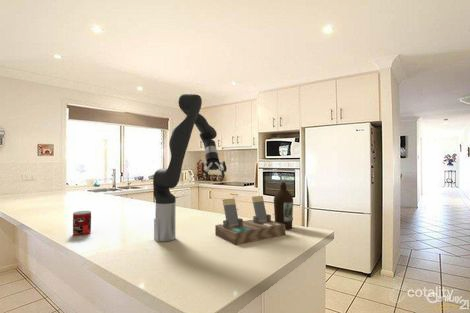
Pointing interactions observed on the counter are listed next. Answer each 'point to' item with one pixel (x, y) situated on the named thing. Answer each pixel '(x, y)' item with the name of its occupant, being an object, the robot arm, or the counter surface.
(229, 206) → the near lever
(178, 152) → the robot arm
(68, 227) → the counter surface
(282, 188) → the olive oil
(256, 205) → the far lever
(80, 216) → the canned food
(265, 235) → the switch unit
